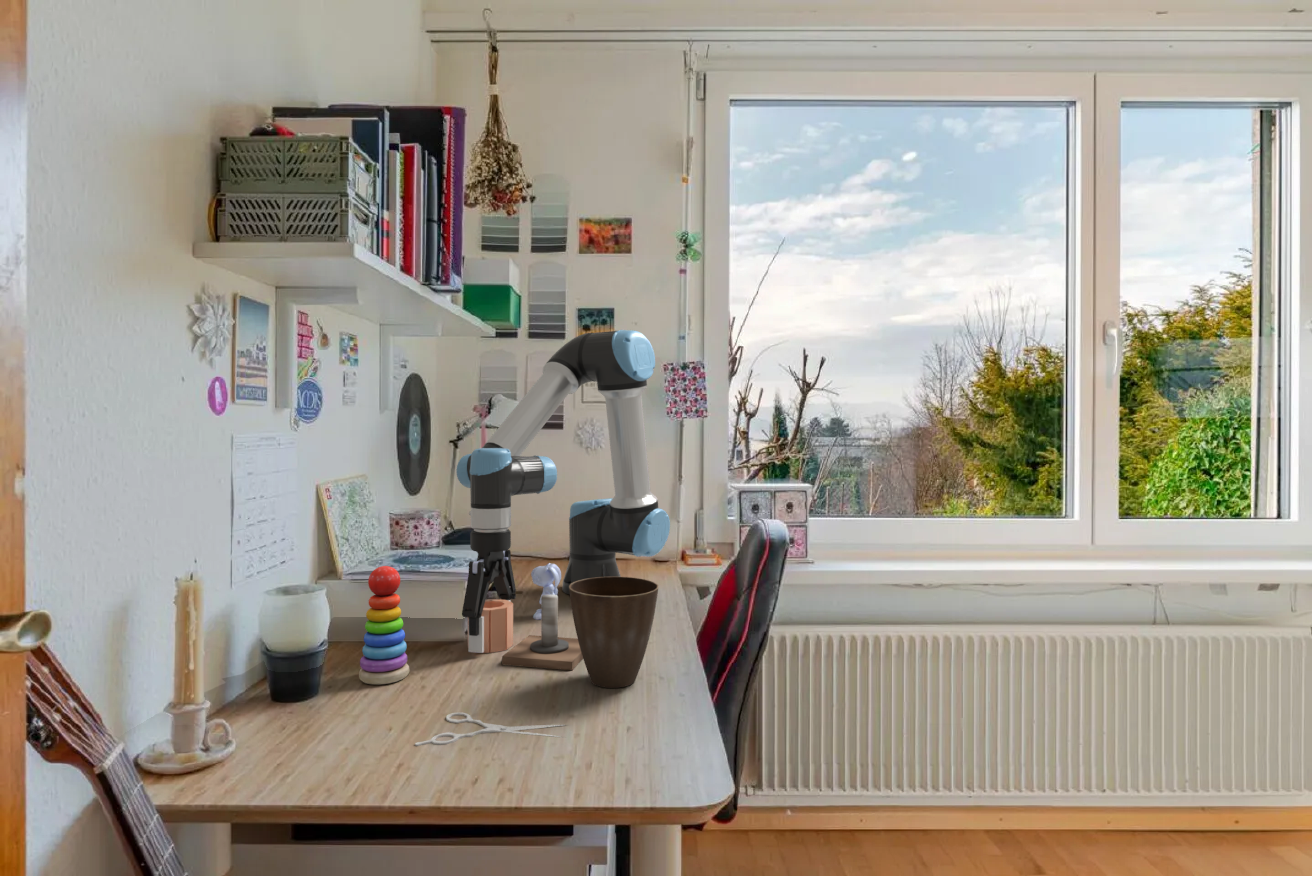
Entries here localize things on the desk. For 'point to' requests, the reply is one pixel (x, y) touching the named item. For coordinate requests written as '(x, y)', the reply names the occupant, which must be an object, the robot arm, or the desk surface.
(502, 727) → the scissors
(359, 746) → the desk surface
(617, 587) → the plant pot
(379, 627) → the stacking toy
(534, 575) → the toy figurine
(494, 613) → the ring
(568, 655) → the post stand
